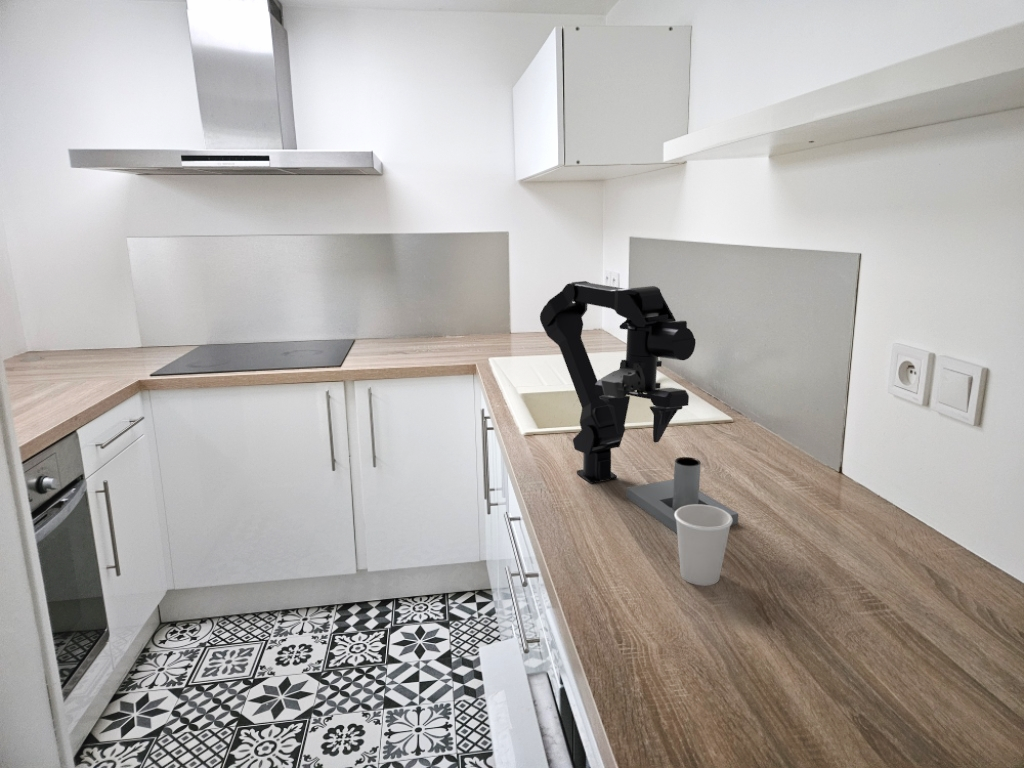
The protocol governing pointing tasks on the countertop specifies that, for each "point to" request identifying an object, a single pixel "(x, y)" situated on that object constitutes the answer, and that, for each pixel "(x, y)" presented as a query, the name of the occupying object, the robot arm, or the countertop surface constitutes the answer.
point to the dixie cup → (702, 542)
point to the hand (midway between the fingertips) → (637, 437)
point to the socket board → (667, 502)
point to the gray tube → (686, 482)
